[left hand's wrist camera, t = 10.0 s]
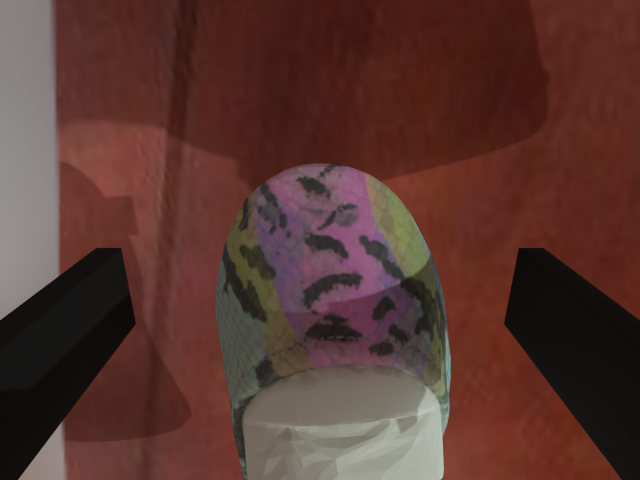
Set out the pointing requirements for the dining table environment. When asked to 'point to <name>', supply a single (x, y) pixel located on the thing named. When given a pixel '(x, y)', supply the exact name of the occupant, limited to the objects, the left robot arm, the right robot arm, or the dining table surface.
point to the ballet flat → (333, 332)
